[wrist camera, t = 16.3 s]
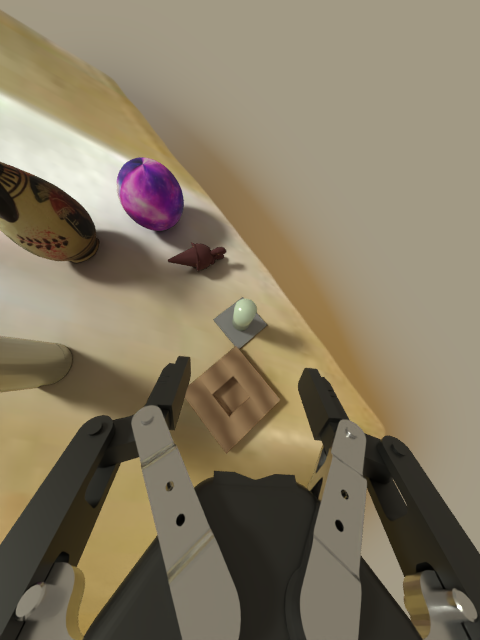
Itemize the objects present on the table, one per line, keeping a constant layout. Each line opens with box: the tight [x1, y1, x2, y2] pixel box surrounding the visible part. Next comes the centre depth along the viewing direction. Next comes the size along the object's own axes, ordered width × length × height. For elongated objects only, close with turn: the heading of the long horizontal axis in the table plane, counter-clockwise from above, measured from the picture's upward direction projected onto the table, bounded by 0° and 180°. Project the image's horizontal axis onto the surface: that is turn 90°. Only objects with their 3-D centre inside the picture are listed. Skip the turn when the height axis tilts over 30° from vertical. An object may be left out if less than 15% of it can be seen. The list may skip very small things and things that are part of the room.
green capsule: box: [232, 299, 257, 331], centre depth 41 cm, size 4×4×12 cm
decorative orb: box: [117, 158, 184, 231], centre depth 45 cm, size 15×15×15 cm
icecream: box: [168, 242, 226, 271], centre depth 47 cm, size 7×7×15 cm
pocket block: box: [185, 346, 280, 453], centre depth 42 cm, size 16×16×2 cm
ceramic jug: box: [0, 162, 99, 263], centre depth 34 cm, size 17×15×30 cm
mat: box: [213, 297, 267, 349], centre depth 47 cm, size 10×10×1 cm
